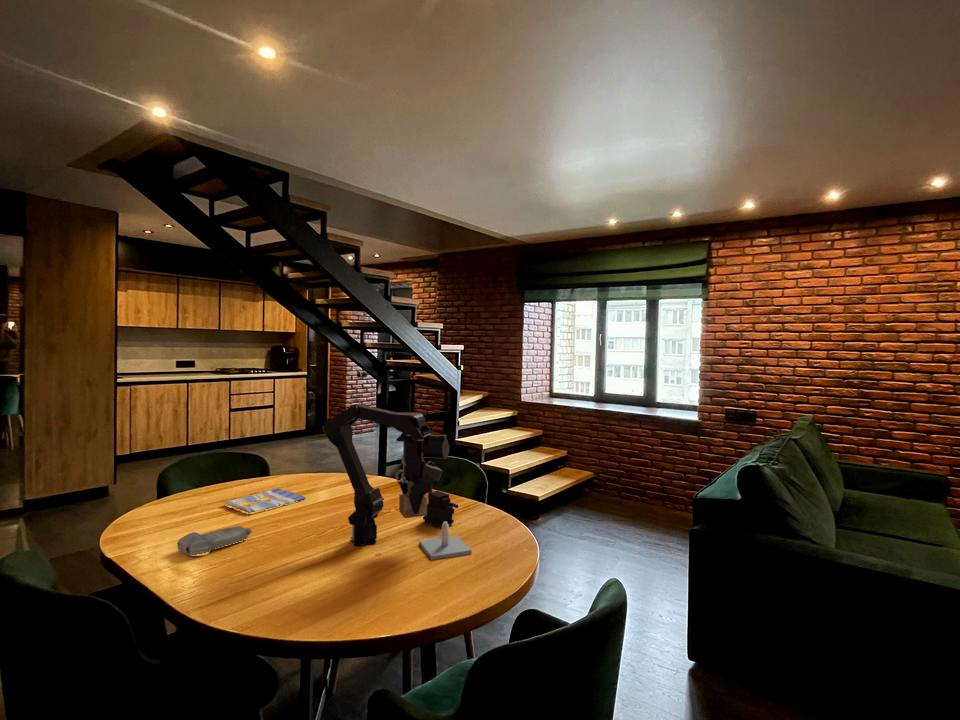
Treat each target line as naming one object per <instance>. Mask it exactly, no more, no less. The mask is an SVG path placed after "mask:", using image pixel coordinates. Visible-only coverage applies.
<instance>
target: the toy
mask: <svg viewBox="0 0 960 720" xmlns="http://www.w3.org/2000/svg"><path fill="white" fill-rule="evenodd" d="M427 494H428V495H427V516H422V520H423V521H424V523H425V524H428V525H431V526H432V527H435V528H437V529H440V528H441V527H442V524H443V522H447V524H448V525H449V526H450V525H451V526H452V525H453V524H454V523H455V519H453V515H455V508H456V509H458V508H459V504H457V503H454V502H452V501H451V498H450V494H449V493H447V492H443V491H441V490H435V491H432V492H431V493H427Z"/></svg>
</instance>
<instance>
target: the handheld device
mask: <svg viewBox="0 0 960 720" xmlns="http://www.w3.org/2000/svg"><path fill="white" fill-rule="evenodd" d="M252 533H253V530H252V529H251V528H245V527H243V526H240V525H237V526H231V527H226V528H221V529H218V530H213V531H209V532H207V533H203V534H200V533H198V532H191V533H188V534H186V535H184V536H182V537H181V538H179V539H178V541H177V543H176V544H177V545H176V546H177V549H178V551H180V552H181V551H182V553H183V552H184V554H186V555H187V556H189V557H192V556H191V555H197V554H202V553H206V552H209V551H212V549H213V550H216V549H215V548H217V549H219V548H218V547H221V548H223V547H222V546H225V545H229V544H233V543H236V542H239V541H242V540H244V539H246V540H247V536H249V535H250V534H252Z"/></svg>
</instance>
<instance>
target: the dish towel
mask: <svg viewBox="0 0 960 720" xmlns="http://www.w3.org/2000/svg"><path fill="white" fill-rule="evenodd" d="M263 497H267V498H268V499H270V500H271V501H269V502H268V501H267V502H265V501H263V500H256V499H261V498H263ZM304 499H305V500H306V496H304V495H302V494H299V493H296V492H292V491H289V490H288V491H287V490H284V489H282V488H277V487H276V488H273V489H270V490H269V489H268V490H266V491H262V492H259V493H258V494H252V495H246V496H243V497H239V498H236V499H232V500H231V499H230V500H228V499H227V500H226V501H223V503H226V504H228V505H230V506H232V507H235V508H237V509H240V510H243V511H245V512H248V513H251V512H255V511H260V510H265V509H269V508H273V507H277V506H280V505H285V504H289V503H292V502H296V501H300V502H302V501H301V500H303V501H305V500H304ZM257 501H258V503H254V504H250V505H251V507H247V506H242V505H240V504H238V503H242V502H247V503H248V504H249V503H252V502H257ZM259 501H261V502H259ZM235 502H237V503H235ZM296 503H297V502H296Z"/></svg>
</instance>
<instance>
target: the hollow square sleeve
mask: <svg viewBox="0 0 960 720" xmlns="http://www.w3.org/2000/svg"><path fill="white" fill-rule="evenodd" d="M398 495H399V497H398V499H399V500H398V501H399V504H398V505H399V506H398V508H399V509H398V511H399V513H400V514H401V516H402V517H403V518H404V519H410V518H418V517H424V516H427V503H428V497H426V496H425V495H424V496H423V498H422V502H421V505H420V508H419V512H418V514H414V512H413V509H412V506H411V503H410V500H409V497H408V494H403V493H402V494H398Z"/></svg>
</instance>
